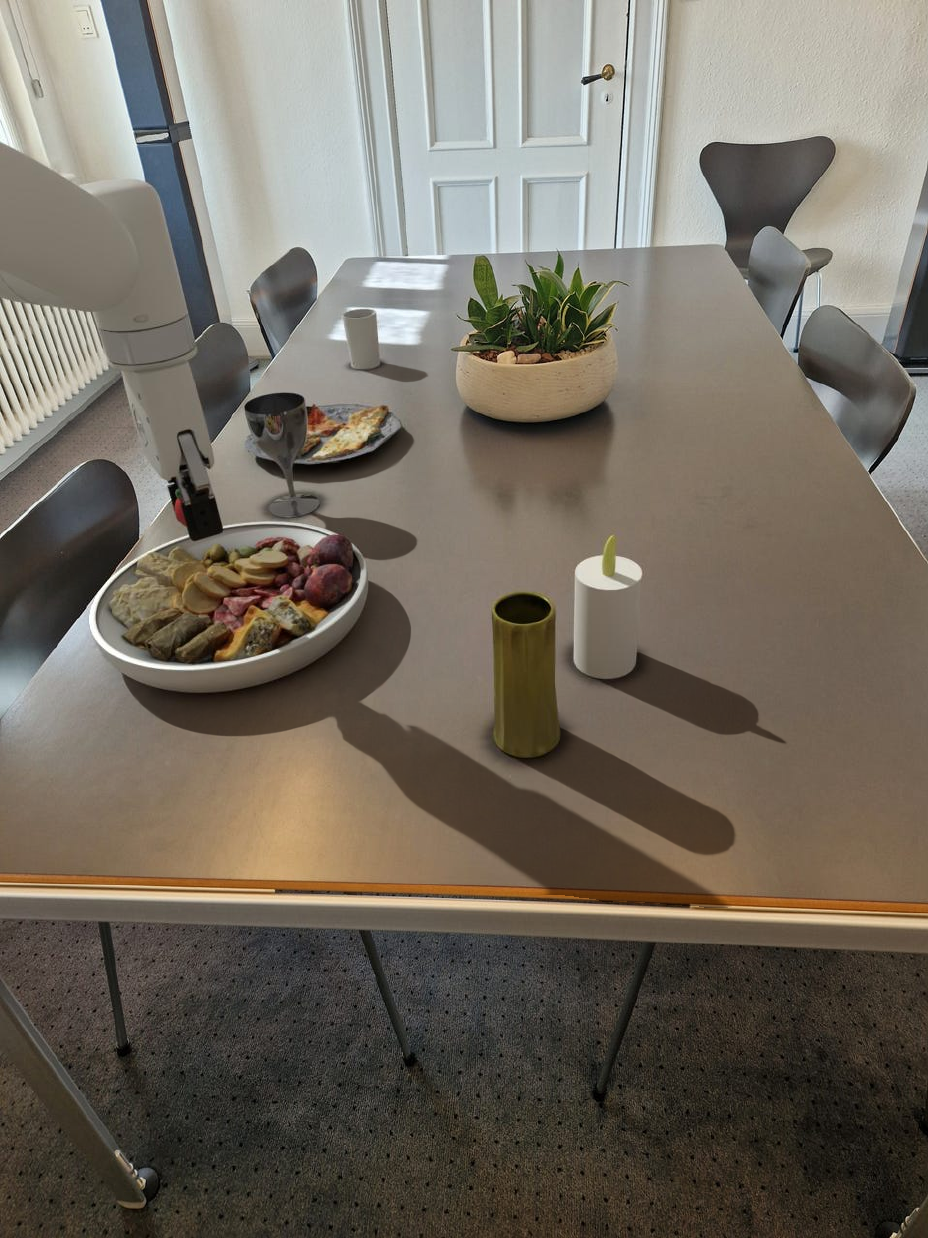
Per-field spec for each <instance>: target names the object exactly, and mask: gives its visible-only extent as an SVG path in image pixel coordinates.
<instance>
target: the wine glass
mask: <svg viewBox="0 0 928 1238" xmlns="http://www.w3.org/2000/svg"><path fill="white" fill-rule="evenodd" d="M306 407H307V404H306V399H305V397H304V396H303V395H301V394H299V393H295V392H274V393H273V392H272V393H267V394H263V395H260V396H256V397H254V398H252V399H250V400H248V401H247V402H246V403H245V404H244V406H243V409H244V415H245V419H246V422H247V426H248V429H249V433H250V434H252V437H253V439H254V441H255V443H256V445H257V446H258V448H259V449H260V450H261V451H262V452H263V453H264V454H266V455H267V456H269V457H270V458H271V459H273V460H272V461H273V462H275V463H276V464H277V465H278V466H279V468H280V469H281V470H282V472H283V473H282V474H283V475H284V478H285V481H286V486H287V489H288V495H285V496H281V497H279V498H277V499H275V500H274V501H273V502H271V503H270V505H269V507H268V511H269V513H270V514H271V515H272V516H276V517H279V518H296V517H302V516H305V515H307V514H310V513H313V512H314V511H316V509H318V508H319V506H320V504H321V503H320V502H321V501H320V500H319V498H318V497H317V496H315V495H313V494H308V493H296V492H295V491H296V490H295V486H294V479H293V468H294V464H295V463H294V461H295V459H296V457H297V456H298V454H299V453H300V451H301V450H302V448H303V447H304V445H305V443H306V440H307V433H308V417H307V409H306Z"/></svg>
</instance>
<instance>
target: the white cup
mask: <svg viewBox="0 0 928 1238" xmlns="http://www.w3.org/2000/svg"><path fill="white" fill-rule="evenodd" d="M341 316H342V322H343V328H344V332H345V338H346V343H347V344H346V345H347V349H348V354H349V355H348V356H349V359H350V367H351V368H353V369H355V370H371V369H375V368H377V367H379V366H380V365H381V358H380V346H379V345H380V344H379V332H378V331H379V330H378V319H377V311H376V310H375V309H371V308H356V309H351V310H348V311H345V312H343V313H342V314H341ZM376 361H377V362H376ZM353 363H354V364H353Z"/></svg>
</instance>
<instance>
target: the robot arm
mask: <svg viewBox="0 0 928 1238" xmlns="http://www.w3.org/2000/svg"><path fill="white" fill-rule="evenodd" d="M172 244H173V243H172V240H171V236H170V232H169V229H168V224H167V220H166V215H165V211H164V208H163V205H162V202H161V197H160V196H159V193H158V192H157V190H156V189H155V187H154V186H153V185H151V184H150V183H149V182H147V181H145V180H141V179H135V178H117V179H106V180H105V179H104V180H98V181H93V182H87V183H83V184H79V185H78V184H76V183H74V182H72V181H71V180H69V179H67V178H66V177H64V176H62V175H61V174H59V173H58V172H56V171H55V170H53V169H51V168H49V167H48V166H46V165H44V164H43V163H41V162H39V161H38V160H36V159H34V158H33V157H31V156H29V155H27V154H25V153H23V152H22V151H20V150H18V149H16V148H14V147H12V146H11V145H10V146H9V145H8V144H7V143H4V142H1V141H0V298H1V299H4V300H7V301H10V302H15V303H21V304H27V305H28V304H29V305H36V306H42V307H43V306H44V307H52V308H60V309H67V310H73V311H79V312H86V313H93V316H94V319H95V322H96V326H97V329H98V332H99V335H100V338H101V342H102V345H103V348H104V352H105V355H106V357H107V358H106V359H107V361H108V365H109V367H110V368H111V369H113V370H115V371H116V370H118V371H120V372H121V377H122V380H123V386H124V389H125V392H126V393H125V394H126V397H127V401H128V405H129V409H130V412H131V415H132V420H133V423H134V428H135V432H136V435H137V440H138V443H139V447H140V449H141V452H142V454H143V455H144V457H145V458H146V460H147V462H149V464H150V465H151V467H152V468H153V469H154V471H155V472H156V473H157V475H158V476H159V477H160V478H161V479H162V480H165V481H166V482H167V483H168V485H167V486H166V487H167V490H168V494H169V497H170V501H171V504H172V508H173V511H174V512H175V503H176V500H177V497H176V494H175V492H176V490H177V489H178V488H179V491H180V494H181V497H182V500H183V502H182V503H180V505H181V509H182V512H183V516H184V519H185V523H186V527H185V528H186V530H187V535H189V537H190V539H191V540H192V541H198V540H201V539H204V538H208V537H211V536H214V535H217V534H220V533H222V532H223V526H224V525H223V522H222V519H221V515H220V511H219V507H218V503H217V499H216V496H215V494H214V491H213V487H212V484H211V481H210V477H209V474H208V470H211V469H212V468H213V466H214V464H215V456H214V451H213V447H212V442H211V438H210V433H209V430H208V426H207V421H206V418H205V414H204V410H203V407H202V404H201V400H200V396H199V392H198V389H197V384H196V383H197V382H195V379H194V376H193V372H192V368H191V365H190V363H189V360H191V359H192V358H194V357H195V356H196V355H197V354H198V346H197V343H196V339H195V335H194V331H193V325H192V323H191V318H190V315H189V311H188V306H187V302H186V298H185V294H184V290H183V285H182V281H181V278H180V273H179V269H178V265H177V261H176V257H175V253H174V248H173V245H172ZM207 469H208V470H207ZM186 485H187V487H186ZM174 514H175V513H174ZM175 517H176V514H175ZM176 520H177V521H178V522H179V523H180V521H179V520H178V518H177V517H176Z"/></svg>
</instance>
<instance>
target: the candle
mask: <svg viewBox="0 0 928 1238" xmlns="http://www.w3.org/2000/svg"><path fill="white" fill-rule="evenodd" d="M616 549H617V537H616V534H612V535H610V537H608V539H607V541H606V543H605V545H604V548H603V552H602V554H601V555H595V556H591V557H588V558H586V559H584V560H582V561H581V562H579V563H578V565H577V566H576V567H575V570H574V606H573V607H574V609H573V610H574V611H573V615H574V616H573V663H574V666H575V667H576V669H578V670H579V671H580V672H581V673H583V674H584V675H586V676H588V677H592V678H595V679H602V680H611V679H612V680H613V679H619V678H622V677H624V676H627V675H628V674H629V673H631V672H632V671H633V670H634V668H635V667H636V664H637V653H638V639H639V638H638V637H639V626H640V625H639V624H640V612H641V611H640V610H641V597H642V596H641V595H642V583H643V582H642V581H643V580H642V579H643V571H642V568H641V566H640V565H639V564H638V563H637V562H635V561H633V560H631V559H629V558H627V557H623V556H619V555H616V554H617V553H616Z"/></svg>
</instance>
